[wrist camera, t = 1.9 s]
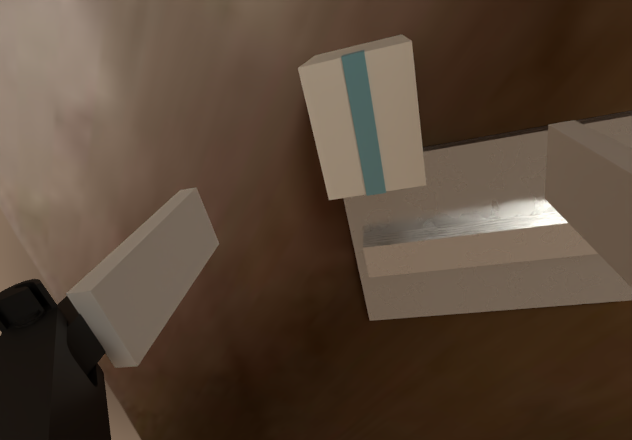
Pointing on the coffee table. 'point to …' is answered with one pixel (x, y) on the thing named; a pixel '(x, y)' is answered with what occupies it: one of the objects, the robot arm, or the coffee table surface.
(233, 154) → the coffee table surface
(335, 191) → the block
